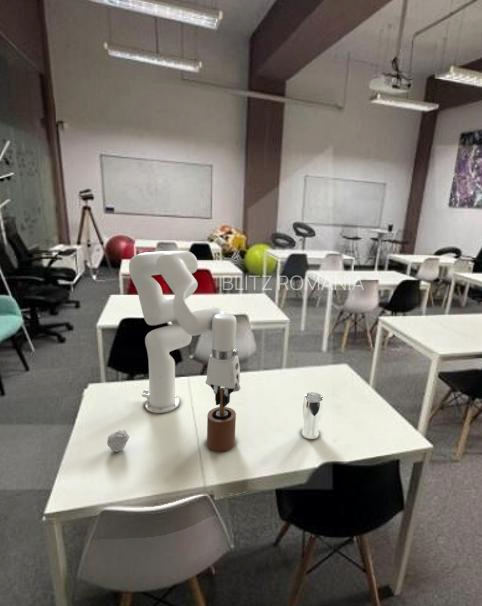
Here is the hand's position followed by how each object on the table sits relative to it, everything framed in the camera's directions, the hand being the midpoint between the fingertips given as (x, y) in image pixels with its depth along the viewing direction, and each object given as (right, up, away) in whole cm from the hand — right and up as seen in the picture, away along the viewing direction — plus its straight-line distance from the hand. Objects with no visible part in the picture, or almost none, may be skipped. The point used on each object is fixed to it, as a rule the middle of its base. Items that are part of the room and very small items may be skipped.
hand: (222, 403), depth 125 cm
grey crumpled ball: (-33, -14, -3) cm, 36 cm away
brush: (-1, -8, +2) cm, 9 cm away
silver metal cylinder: (+30, -15, +12) cm, 35 cm away
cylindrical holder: (-1, -15, +4) cm, 15 cm away
